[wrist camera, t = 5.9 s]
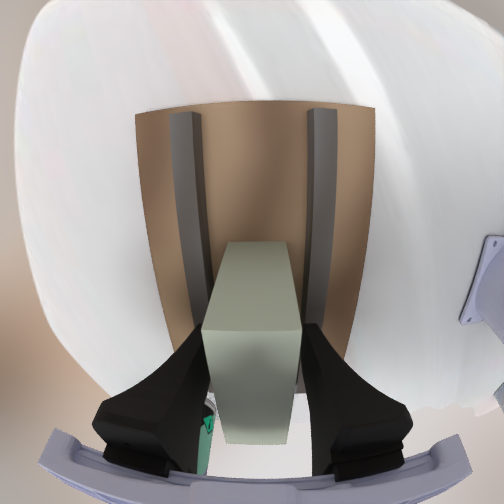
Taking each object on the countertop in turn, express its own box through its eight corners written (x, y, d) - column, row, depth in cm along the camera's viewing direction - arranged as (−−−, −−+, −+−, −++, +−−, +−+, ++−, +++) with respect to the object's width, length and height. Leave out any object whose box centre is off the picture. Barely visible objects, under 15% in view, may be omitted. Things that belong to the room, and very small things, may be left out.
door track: (366, 109, 12) (390, 105, 9) (336, 364, 19) (343, 393, 17) (144, 115, 13) (118, 113, 10) (184, 364, 20) (176, 393, 17)
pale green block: (285, 241, 14) (302, 330, 8) (281, 352, 17) (286, 444, 11) (227, 241, 14) (201, 329, 8) (236, 352, 18) (226, 443, 11)
